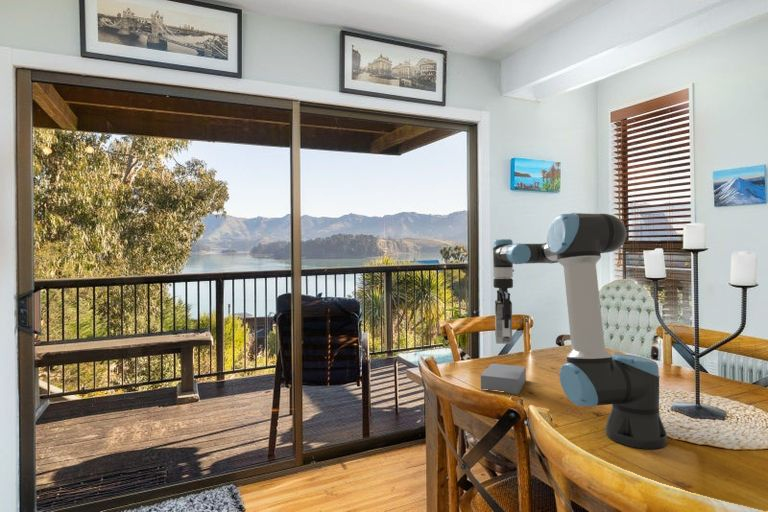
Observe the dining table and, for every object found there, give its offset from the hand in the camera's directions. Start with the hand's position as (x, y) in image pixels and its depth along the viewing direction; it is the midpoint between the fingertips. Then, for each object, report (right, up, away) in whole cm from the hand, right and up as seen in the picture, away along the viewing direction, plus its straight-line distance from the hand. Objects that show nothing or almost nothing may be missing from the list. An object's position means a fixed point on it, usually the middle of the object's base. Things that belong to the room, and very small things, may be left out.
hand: (503, 333), depth 179 cm
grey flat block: (0, -21, 0) cm, 21 cm away
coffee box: (0, -3, 0) cm, 3 cm away
